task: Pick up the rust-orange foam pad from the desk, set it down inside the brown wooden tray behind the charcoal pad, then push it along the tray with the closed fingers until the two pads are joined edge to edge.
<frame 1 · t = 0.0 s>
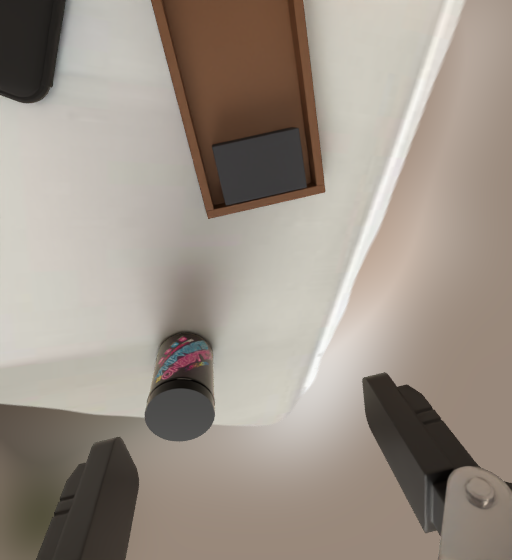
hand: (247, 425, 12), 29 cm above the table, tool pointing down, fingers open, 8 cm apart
brown wooden tray: (242, 89, 34), on the table
charcoal pad: (257, 164, 36), point 1 cm above the table, touching brown wooden tray
supplement container: (186, 352, 45), on the table
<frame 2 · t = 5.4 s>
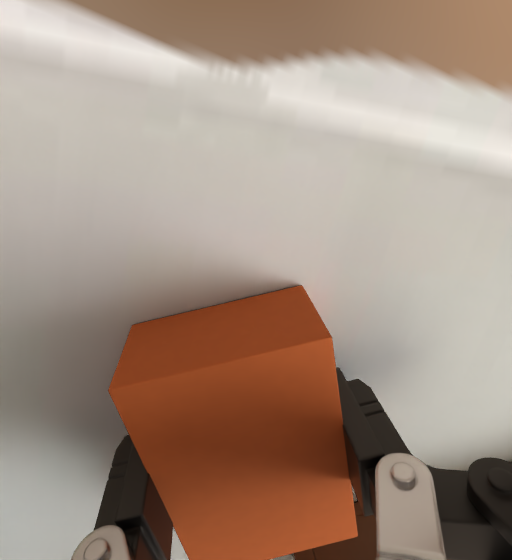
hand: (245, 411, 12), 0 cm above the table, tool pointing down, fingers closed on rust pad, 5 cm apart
brown wooden tray: (505, 539, 19), on the table
rust pad: (244, 401, 13), on the table, touching gripper
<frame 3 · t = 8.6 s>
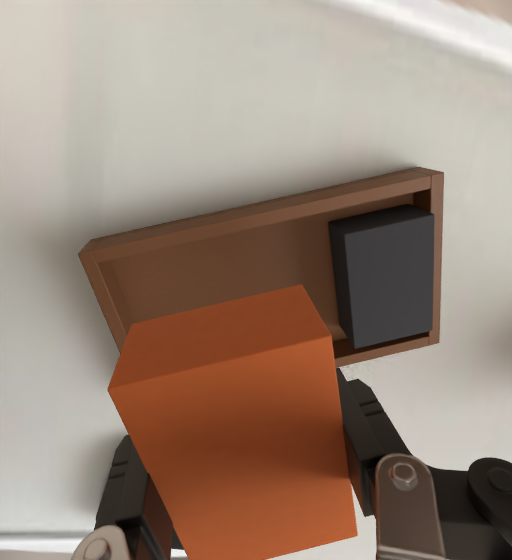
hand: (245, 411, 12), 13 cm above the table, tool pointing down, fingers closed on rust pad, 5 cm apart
brown wooden tray: (274, 286, 25), on the table
charcoal pad: (371, 268, 25), point 1 cm above the table, touching brown wooden tray
rust pad: (244, 400, 13), point 13 cm above the table, touching gripper
when the fingers open (1 cm above the table, at t = 12.0 s): rust pad stays where it is, resting on brown wooden tray.
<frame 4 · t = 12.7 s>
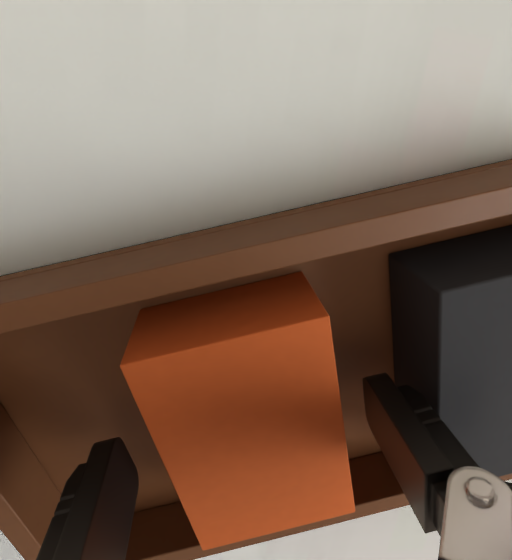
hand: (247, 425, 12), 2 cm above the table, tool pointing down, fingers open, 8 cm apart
brown wooden tray: (283, 366, 14), on the table
charcoal pad: (461, 334, 14), point 1 cm above the table, touching brown wooden tray
rust pad: (246, 384, 13), point 1 cm above the table, touching brown wooden tray
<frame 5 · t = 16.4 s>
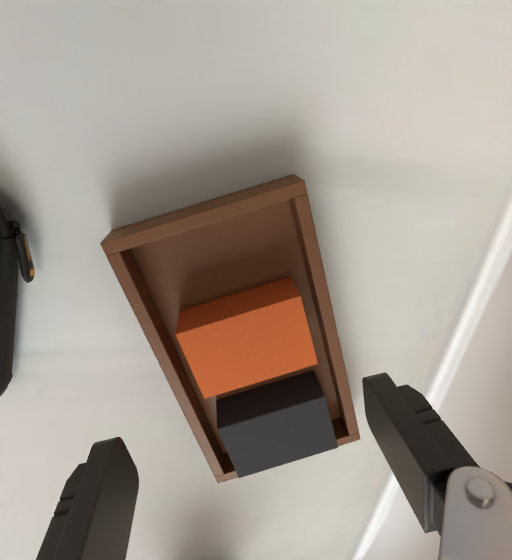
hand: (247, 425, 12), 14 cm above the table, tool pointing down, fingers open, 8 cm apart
brown wooden tray: (249, 338, 27), on the table
charcoal pad: (273, 409, 29), point 1 cm above the table, touching brown wooden tray
rust pad: (245, 325, 26), point 1 cm above the table, touching brown wooden tray
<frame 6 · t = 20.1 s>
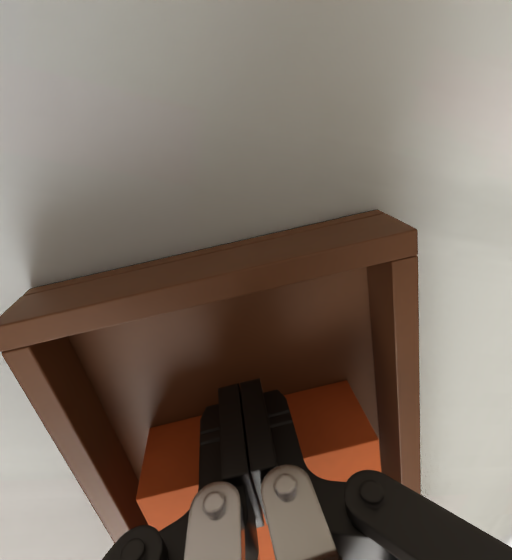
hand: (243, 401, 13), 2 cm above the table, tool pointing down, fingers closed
brown wooden tray: (264, 463, 17), on the table
rust pad: (261, 450, 15), point 1 cm above the table, touching brown wooden tray, gripper
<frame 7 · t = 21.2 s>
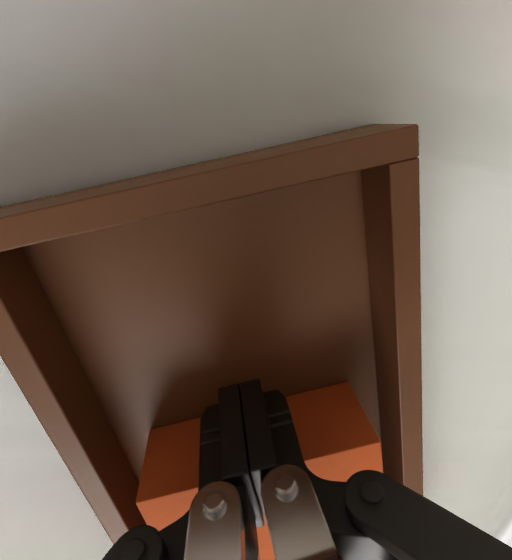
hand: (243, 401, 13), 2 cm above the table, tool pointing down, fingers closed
brown wooden tray: (253, 421, 15), on the table
rust pad: (262, 452, 15), point 1 cm above the table, touching brown wooden tray, gripper
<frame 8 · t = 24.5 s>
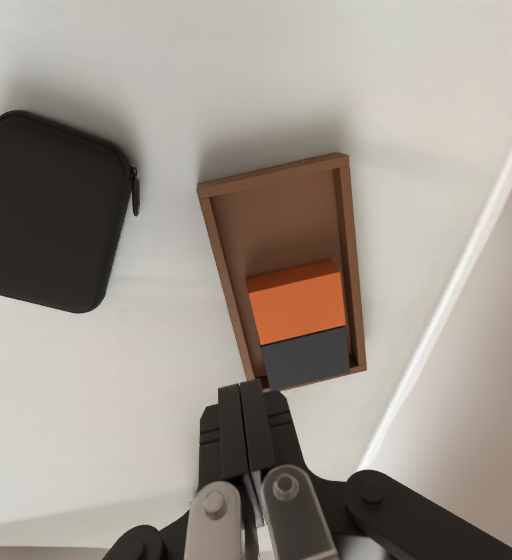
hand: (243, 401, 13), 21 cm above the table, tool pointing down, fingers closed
brown wooden tray: (287, 280, 35), on the table
charcoal pad: (299, 342, 37), point 1 cm above the table, touching brown wooden tray
rust pad: (292, 294, 35), point 1 cm above the table, touching brown wooden tray
carrying case: (69, 219, 30), on the table
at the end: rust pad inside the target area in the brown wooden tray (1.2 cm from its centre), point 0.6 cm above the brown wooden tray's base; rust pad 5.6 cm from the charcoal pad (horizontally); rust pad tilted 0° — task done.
